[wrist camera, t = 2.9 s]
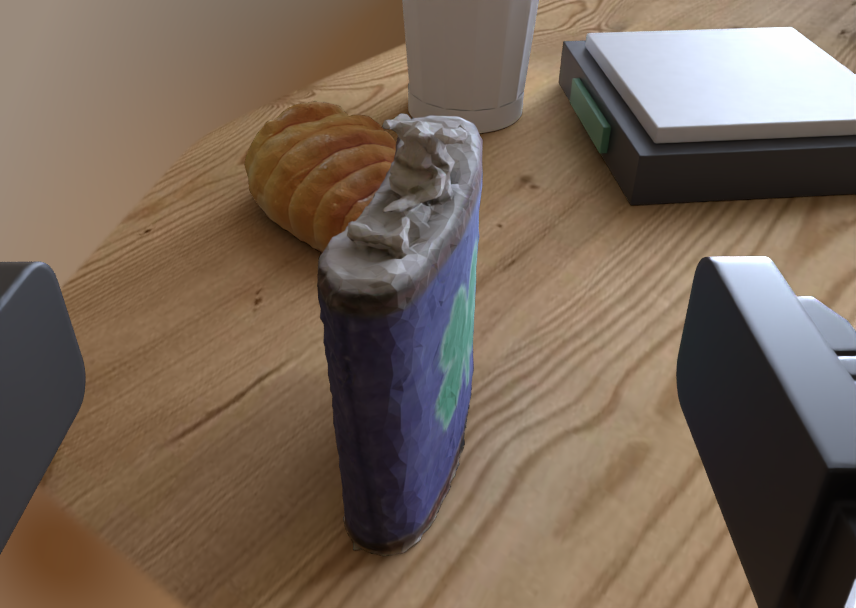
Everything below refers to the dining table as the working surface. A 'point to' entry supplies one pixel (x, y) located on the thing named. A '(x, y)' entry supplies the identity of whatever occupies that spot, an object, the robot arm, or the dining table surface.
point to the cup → (469, 58)
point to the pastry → (317, 169)
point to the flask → (404, 332)
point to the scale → (715, 113)
